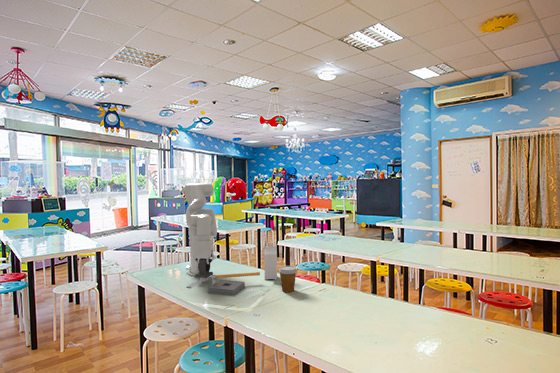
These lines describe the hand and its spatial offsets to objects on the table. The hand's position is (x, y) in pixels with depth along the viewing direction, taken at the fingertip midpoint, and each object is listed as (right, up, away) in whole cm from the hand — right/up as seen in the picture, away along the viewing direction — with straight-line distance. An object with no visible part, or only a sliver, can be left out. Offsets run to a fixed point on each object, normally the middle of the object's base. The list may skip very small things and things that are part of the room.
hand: (204, 270), depth 181 cm
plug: (0, -6, 0) cm, 6 cm away
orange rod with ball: (+19, -2, -5) cm, 19 cm away
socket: (+13, -8, -12) cm, 20 cm away
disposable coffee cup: (+47, -8, -11) cm, 49 cm away
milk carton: (+37, -8, +12) cm, 40 cm away
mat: (0, -8, 0) cm, 8 cm away
